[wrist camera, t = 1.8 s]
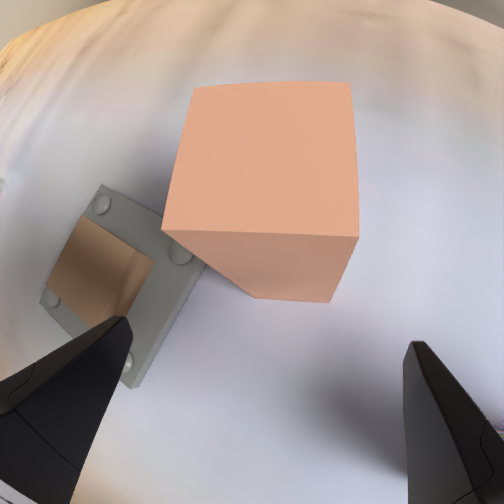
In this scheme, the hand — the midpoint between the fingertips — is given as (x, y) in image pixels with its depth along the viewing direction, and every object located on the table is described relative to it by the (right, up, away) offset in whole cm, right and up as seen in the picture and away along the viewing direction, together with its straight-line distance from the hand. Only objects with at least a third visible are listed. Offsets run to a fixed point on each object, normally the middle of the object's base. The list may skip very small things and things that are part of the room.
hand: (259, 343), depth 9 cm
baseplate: (-11, 0, +15) cm, 18 cm away
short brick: (-11, +1, +13) cm, 17 cm away
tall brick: (+3, +2, +12) cm, 13 cm away
